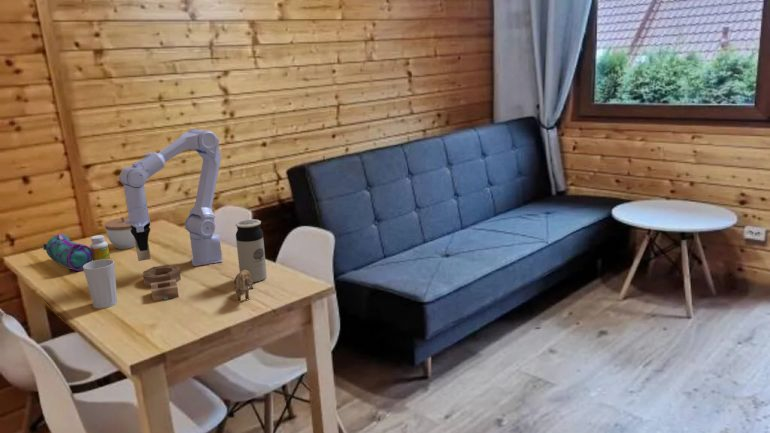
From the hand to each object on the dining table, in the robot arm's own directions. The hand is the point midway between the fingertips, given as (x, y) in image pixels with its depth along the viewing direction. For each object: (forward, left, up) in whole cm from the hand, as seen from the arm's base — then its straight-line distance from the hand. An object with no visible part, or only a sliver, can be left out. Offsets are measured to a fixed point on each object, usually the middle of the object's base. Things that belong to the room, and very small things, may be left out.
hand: (143, 248), depth 187 cm
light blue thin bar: (-4, +16, -10) cm, 19 cm away
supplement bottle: (+14, -22, -10) cm, 28 cm away
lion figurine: (-25, +29, -10) cm, 40 cm away
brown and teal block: (0, 0, -3) cm, 3 cm away
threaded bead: (-4, +17, -10) cm, 20 cm away
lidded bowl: (+6, -40, -10) cm, 41 cm away
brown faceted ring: (-4, +4, -10) cm, 11 cm away
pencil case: (+24, -26, -10) cm, 37 cm away
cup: (+12, +16, -10) cm, 22 cm away
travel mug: (-30, +16, -10) cm, 36 cm away
